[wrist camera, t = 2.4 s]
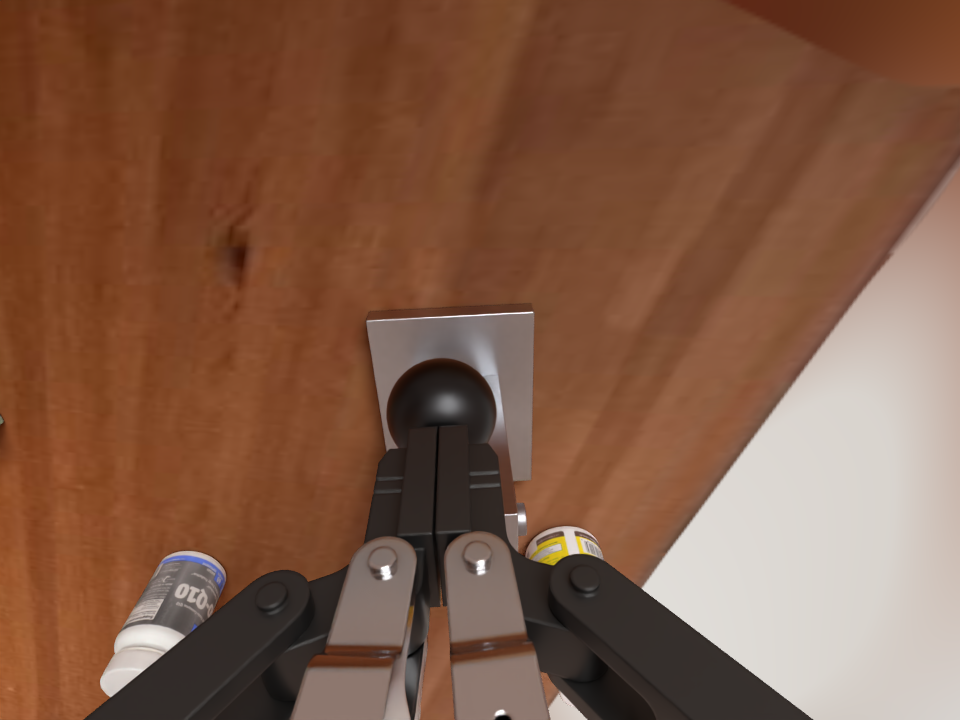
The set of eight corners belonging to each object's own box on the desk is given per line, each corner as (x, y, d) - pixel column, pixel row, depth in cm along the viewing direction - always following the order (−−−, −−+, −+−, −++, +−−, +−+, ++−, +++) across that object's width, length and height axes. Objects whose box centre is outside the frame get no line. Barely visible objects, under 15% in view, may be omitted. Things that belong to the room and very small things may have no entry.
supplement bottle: (517, 570, 41) (535, 715, 32) (532, 518, 38) (557, 661, 29) (588, 575, 41) (625, 718, 32) (607, 524, 39) (654, 665, 30)
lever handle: (380, 338, 15) (374, 440, 13) (493, 332, 15) (501, 433, 13) (425, 501, 26) (424, 570, 24) (491, 497, 26) (495, 566, 24)
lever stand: (368, 311, 29) (323, 449, 19) (531, 302, 29) (573, 435, 19) (393, 475, 35) (370, 648, 25) (529, 468, 36) (560, 636, 25)
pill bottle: (241, 580, 40) (194, 698, 32) (188, 598, 41) (130, 718, 33) (200, 540, 38) (140, 657, 30) (145, 560, 38) (73, 679, 31)
